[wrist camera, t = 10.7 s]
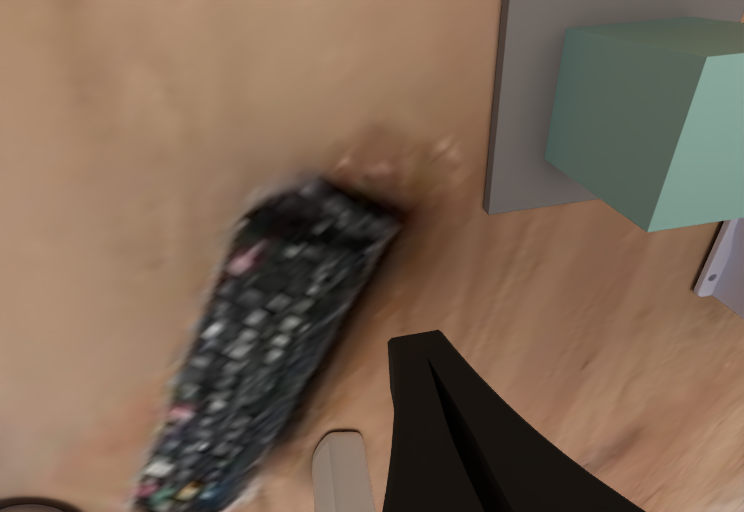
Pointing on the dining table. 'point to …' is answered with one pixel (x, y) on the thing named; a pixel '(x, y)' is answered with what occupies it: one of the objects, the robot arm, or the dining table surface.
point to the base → (553, 89)
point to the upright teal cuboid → (654, 119)
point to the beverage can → (30, 508)
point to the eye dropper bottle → (341, 475)
